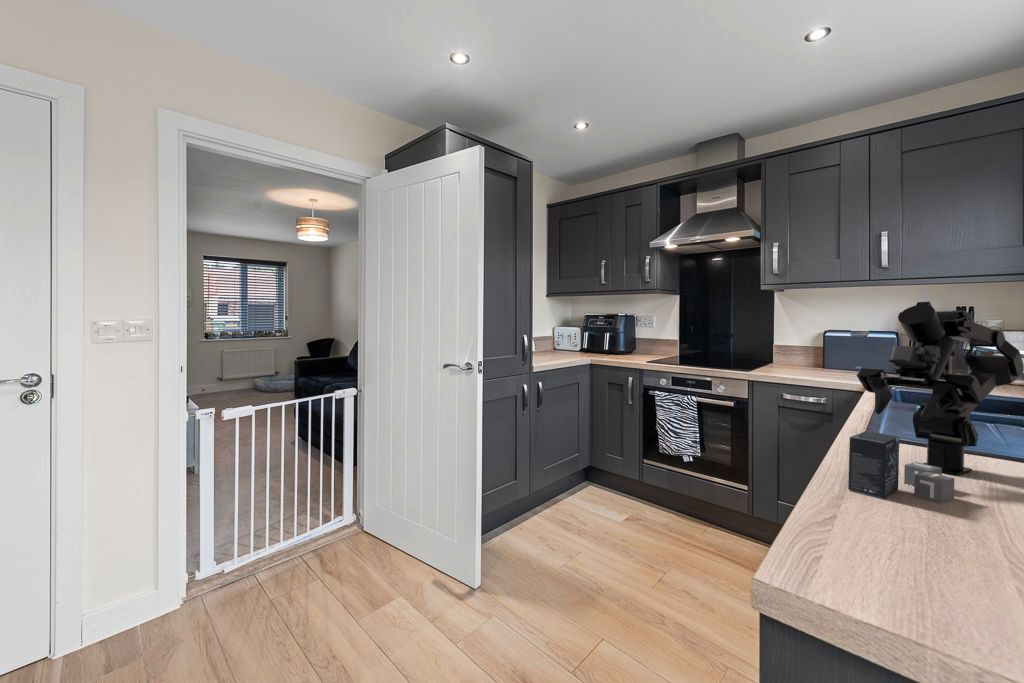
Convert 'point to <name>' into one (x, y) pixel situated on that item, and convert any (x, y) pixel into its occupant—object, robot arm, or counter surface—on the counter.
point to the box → (873, 464)
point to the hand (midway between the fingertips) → (898, 416)
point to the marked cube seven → (934, 487)
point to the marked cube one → (918, 471)
